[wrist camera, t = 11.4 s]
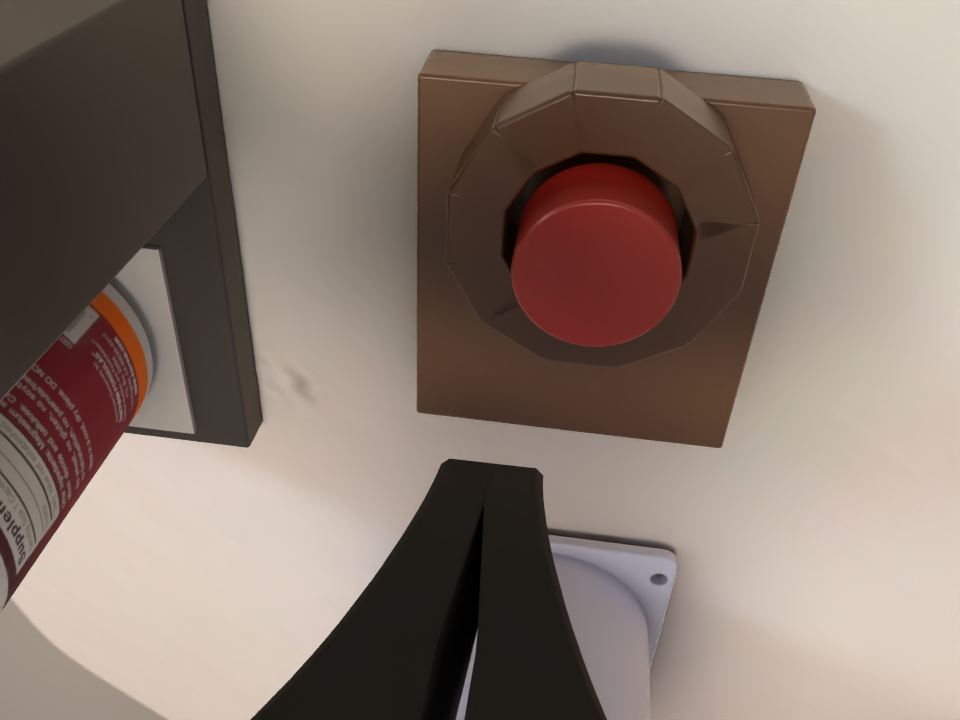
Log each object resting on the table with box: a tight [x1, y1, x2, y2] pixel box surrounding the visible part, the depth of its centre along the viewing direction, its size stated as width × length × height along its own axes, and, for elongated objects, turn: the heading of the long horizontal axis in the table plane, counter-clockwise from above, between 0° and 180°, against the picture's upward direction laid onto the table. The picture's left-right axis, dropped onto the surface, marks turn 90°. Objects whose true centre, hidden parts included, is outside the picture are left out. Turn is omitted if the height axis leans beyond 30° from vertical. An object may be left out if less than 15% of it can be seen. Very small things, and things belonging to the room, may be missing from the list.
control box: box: [417, 50, 816, 448], centre depth 20 cm, size 10×8×4 cm
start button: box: [511, 163, 682, 347], centre depth 17 cm, size 3×3×2 cm
